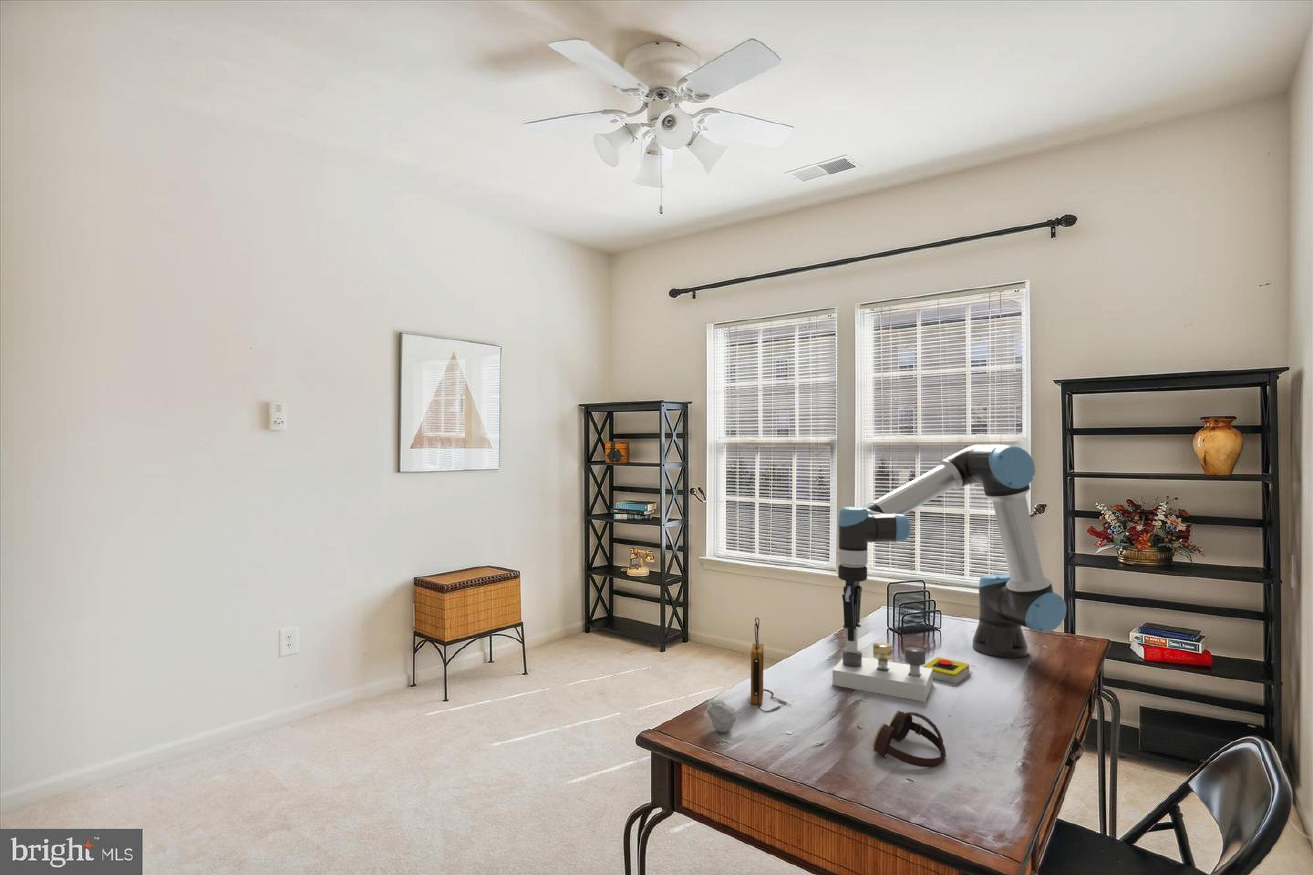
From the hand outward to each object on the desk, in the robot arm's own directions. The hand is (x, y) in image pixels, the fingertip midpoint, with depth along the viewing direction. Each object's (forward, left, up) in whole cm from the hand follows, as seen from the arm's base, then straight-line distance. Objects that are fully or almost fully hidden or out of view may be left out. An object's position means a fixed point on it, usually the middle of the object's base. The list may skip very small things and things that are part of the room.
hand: (851, 651), depth 185 cm
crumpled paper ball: (+18, +47, -8) cm, 51 cm away
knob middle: (-8, 0, -4) cm, 9 cm away
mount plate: (-8, 0, -7) cm, 11 cm away
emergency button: (-22, -16, -8) cm, 29 cm away
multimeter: (+14, +25, -8) cm, 30 cm away
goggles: (-21, +37, -8) cm, 43 cm away
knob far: (0, 0, -8) cm, 8 cm away
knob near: (-16, 0, -4) cm, 17 cm away
